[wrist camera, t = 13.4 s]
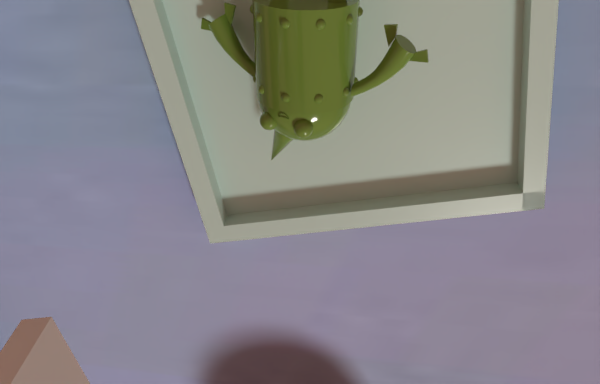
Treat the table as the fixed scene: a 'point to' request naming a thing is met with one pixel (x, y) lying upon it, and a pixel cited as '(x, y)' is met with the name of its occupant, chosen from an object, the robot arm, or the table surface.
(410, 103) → the tray
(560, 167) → the table surface
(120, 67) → the table surface
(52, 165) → the table surface
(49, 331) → the robot arm
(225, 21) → the character figure
